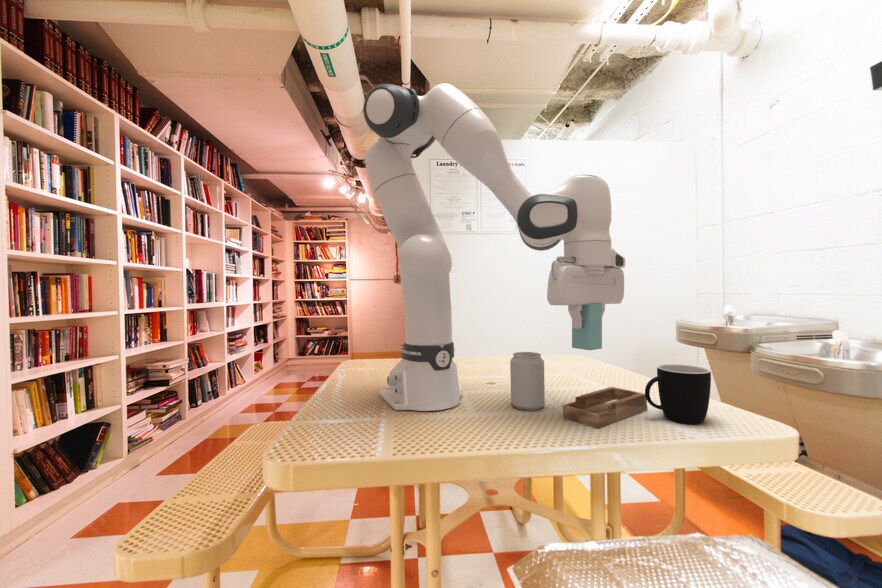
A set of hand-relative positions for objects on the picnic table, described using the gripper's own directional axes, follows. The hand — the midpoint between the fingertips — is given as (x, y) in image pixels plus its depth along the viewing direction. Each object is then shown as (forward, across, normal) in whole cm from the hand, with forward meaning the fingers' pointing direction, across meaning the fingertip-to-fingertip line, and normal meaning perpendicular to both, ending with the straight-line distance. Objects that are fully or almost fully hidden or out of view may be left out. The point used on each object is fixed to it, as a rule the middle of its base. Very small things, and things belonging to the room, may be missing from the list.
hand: (587, 327), depth 74 cm
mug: (+18, +14, -10) cm, 26 cm away
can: (+19, -3, +13) cm, 23 cm away
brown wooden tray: (+18, +6, 0) cm, 20 cm away
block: (+4, 0, 0) cm, 4 cm away
